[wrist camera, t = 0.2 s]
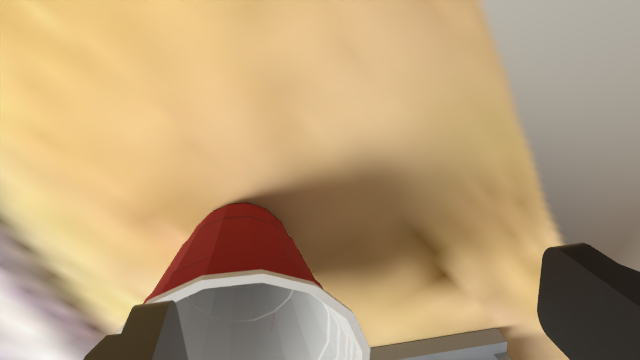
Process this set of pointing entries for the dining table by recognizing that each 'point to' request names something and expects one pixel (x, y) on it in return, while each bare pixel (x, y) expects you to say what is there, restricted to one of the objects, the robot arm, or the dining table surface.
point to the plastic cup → (254, 294)
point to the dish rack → (448, 348)
